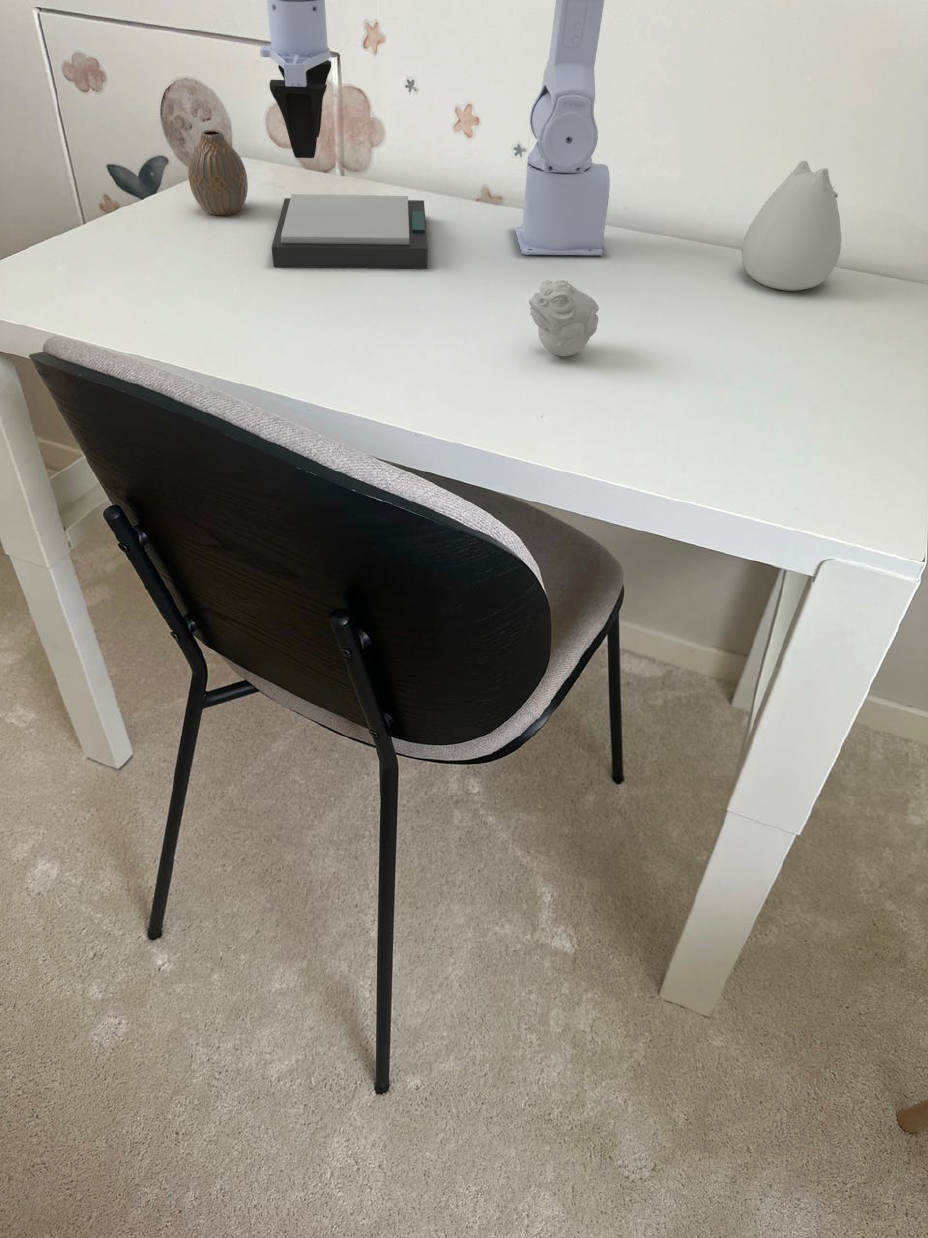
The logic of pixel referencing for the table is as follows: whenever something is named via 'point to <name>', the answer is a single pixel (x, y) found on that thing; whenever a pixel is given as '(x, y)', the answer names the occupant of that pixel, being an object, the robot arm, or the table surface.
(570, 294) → the frog figurine
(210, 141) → the vase
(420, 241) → the scale
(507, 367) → the table surface
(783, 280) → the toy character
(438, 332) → the table surface
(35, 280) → the table surface
